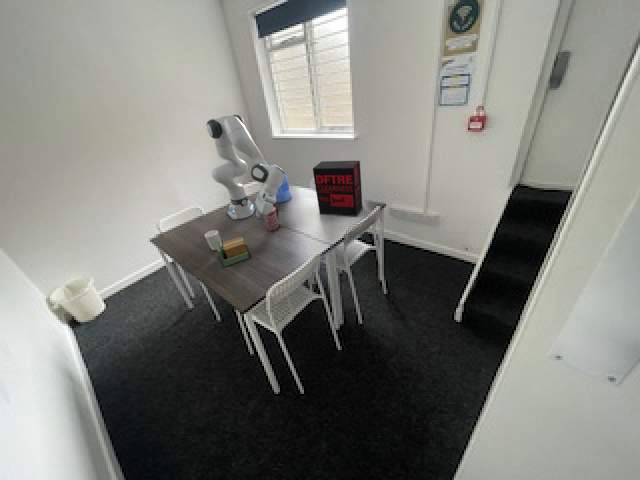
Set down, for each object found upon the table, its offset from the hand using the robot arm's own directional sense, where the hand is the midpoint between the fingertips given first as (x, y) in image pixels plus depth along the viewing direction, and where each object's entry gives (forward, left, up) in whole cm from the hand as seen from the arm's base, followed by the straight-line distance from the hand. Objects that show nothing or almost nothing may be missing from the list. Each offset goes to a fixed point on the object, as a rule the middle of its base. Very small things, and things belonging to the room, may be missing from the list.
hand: (257, 216), depth 147 cm
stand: (-5, -18, -19) cm, 26 cm away
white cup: (-24, -20, -19) cm, 36 cm away
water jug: (-44, +49, -19) cm, 69 cm away
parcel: (-4, -17, -19) cm, 25 cm away
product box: (+13, +56, -19) cm, 61 cm away
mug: (-11, +16, -19) cm, 27 cm away
